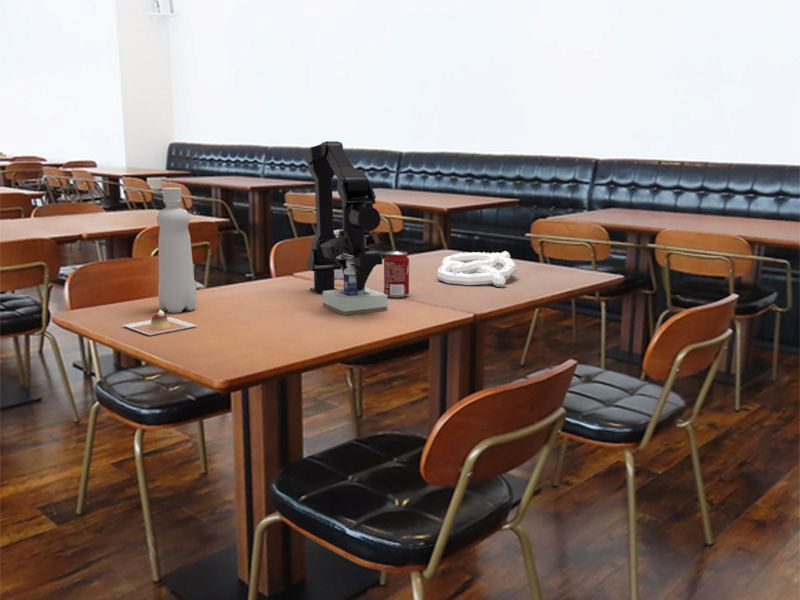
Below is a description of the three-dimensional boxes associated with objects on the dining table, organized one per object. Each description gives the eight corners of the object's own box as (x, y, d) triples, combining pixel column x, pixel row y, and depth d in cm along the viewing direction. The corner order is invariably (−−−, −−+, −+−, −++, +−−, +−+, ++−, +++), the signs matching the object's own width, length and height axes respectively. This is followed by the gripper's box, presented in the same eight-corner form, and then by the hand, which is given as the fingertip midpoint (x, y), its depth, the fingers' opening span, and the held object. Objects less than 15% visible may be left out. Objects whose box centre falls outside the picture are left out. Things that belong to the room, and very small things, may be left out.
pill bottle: (343, 296, 197) (343, 258, 195) (364, 296, 197) (364, 258, 195) (343, 300, 192) (343, 262, 190) (365, 300, 192) (365, 261, 190)
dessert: (122, 329, 174) (120, 309, 173) (169, 321, 183) (168, 301, 182) (149, 339, 166) (147, 317, 165) (197, 329, 175) (196, 309, 174)
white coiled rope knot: (514, 293, 222) (514, 272, 220) (433, 293, 227) (432, 272, 225) (519, 265, 248) (519, 246, 246) (446, 265, 253) (445, 246, 251)
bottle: (184, 304, 198) (178, 186, 192) (204, 309, 192) (198, 188, 186) (152, 309, 192) (144, 188, 186) (171, 315, 186) (164, 190, 180)
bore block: (323, 306, 197) (322, 291, 196) (364, 301, 203) (364, 286, 202) (344, 315, 187) (344, 299, 186) (387, 310, 193) (387, 294, 192)
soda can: (406, 299, 206) (406, 254, 204) (381, 298, 208) (381, 254, 205) (410, 294, 213) (411, 251, 210) (386, 293, 214) (387, 250, 212)
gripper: (308, 224, 195) (309, 285, 198) (342, 232, 179) (342, 298, 182) (348, 222, 200) (348, 281, 203) (383, 230, 185) (383, 293, 188)
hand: (354, 288), depth 194 cm, fingers closed on pill bottle, 5 cm apart
